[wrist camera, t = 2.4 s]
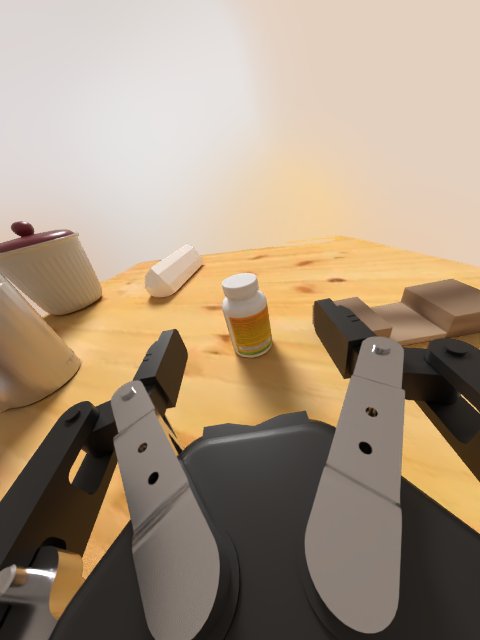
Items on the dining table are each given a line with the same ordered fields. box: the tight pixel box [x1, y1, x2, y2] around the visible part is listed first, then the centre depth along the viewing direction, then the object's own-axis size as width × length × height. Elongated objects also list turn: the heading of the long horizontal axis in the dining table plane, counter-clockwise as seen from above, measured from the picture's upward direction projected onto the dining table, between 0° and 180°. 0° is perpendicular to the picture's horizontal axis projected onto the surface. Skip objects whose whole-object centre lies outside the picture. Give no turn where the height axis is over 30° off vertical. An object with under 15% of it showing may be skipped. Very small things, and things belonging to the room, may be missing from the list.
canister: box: [0, 221, 102, 315], centre depth 49 cm, size 18×18×21 cm
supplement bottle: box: [222, 273, 272, 358], centre depth 25 cm, size 5×5×10 cm
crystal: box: [145, 244, 204, 298], centre depth 55 cm, size 7×7×24 cm
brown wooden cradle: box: [313, 279, 480, 346], centre depth 24 cm, size 7×18×3 cm, turn 93°
